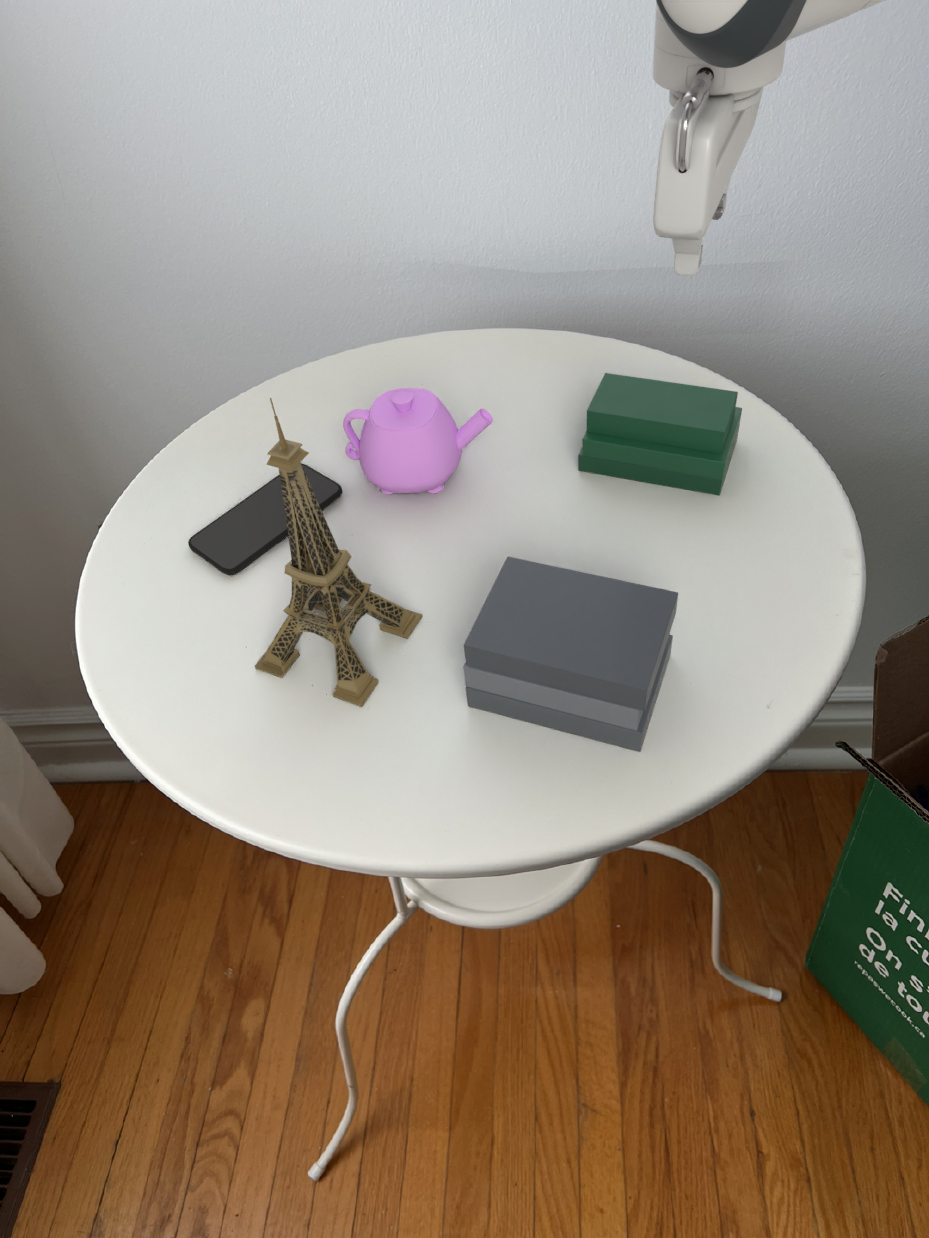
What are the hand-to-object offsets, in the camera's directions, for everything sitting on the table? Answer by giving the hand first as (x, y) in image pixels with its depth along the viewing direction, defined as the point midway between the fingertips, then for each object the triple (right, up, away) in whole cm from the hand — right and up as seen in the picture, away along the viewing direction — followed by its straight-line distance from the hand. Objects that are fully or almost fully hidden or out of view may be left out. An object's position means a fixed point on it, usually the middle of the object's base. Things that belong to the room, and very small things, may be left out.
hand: (700, 242), depth 73 cm
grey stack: (-10, -35, +1) cm, 36 cm away
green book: (0, -11, +16) cm, 19 cm away
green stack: (+1, -14, +19) cm, 23 cm away
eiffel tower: (-29, -32, +6) cm, 44 cm away
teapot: (-23, -15, +20) cm, 34 cm away
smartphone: (-38, -20, +17) cm, 47 cm away
